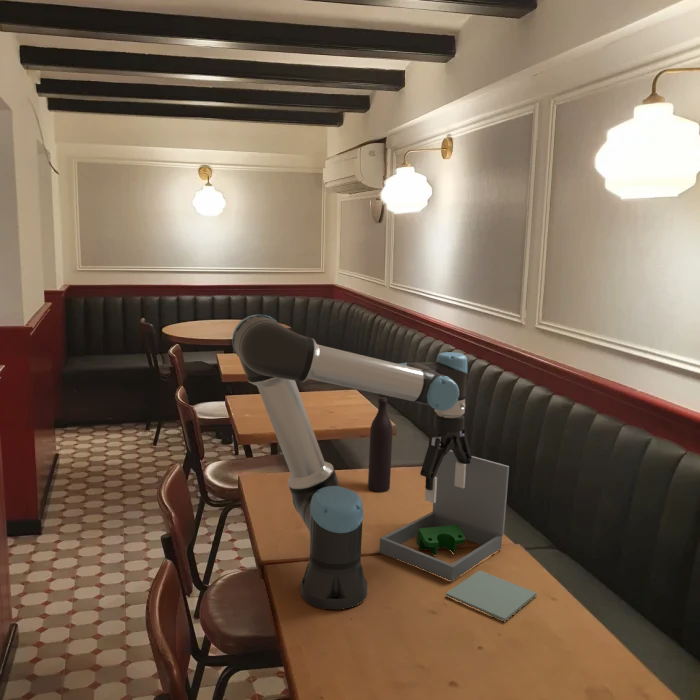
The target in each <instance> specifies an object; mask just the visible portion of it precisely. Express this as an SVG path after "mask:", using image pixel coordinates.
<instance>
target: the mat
mask: <svg viewBox="0 0 700 700" xmlns="http://www.w3.org/2000/svg"><path fill="white" fill-rule="evenodd" d="M446 595H447V596H449V597H451V598H454V599H456V600H458V601H461V602H462V603H465V604H467V605H469V606H471V607H474V608H476V609H479V610H480V611H483V612H485V613H487V614H489V615H491V616H493V617H496V618H498V619H500V620H503V621H506V620H507V619H509V618H510V617H511V616H512V615H513V614H515V613H516V612H517V611H518V610H520V609H521V608H522V607H523V606H524V605H526V604H527V603H528V602H529V601H530V600H531V599H533V598H534V597H535V596H536V597H537V592H536V591H533V590H530V589H528V588H527V587H523V586H520V585H518V584H516V583H513V582H510V581H507V580H506V579H503V578H501V577H498V576H496V575H492V574H490V573H487V572H485V571H483V570H477V571H476V572H475V573H473V574H472V575H470V576H469V577H468V578H466V579H464V580H463V581H462V582H460V583H458V584H457V585H455V586H454V587H453V588H451V589H449V590H448V591H447V592H445V596H446ZM536 597H535V598H536ZM535 598H534V599H535ZM534 599H533V600H534ZM529 603H530V602H529ZM529 603H528V604H529ZM528 604H527V605H528ZM527 605H526V606H527ZM523 608H524V607H523ZM523 608H522V609H523ZM522 609H521V610H522ZM521 610H520V611H521ZM517 613H518V612H517ZM517 613H516V614H517ZM516 614H515V615H516ZM511 618H512V617H511ZM511 618H510V619H511ZM510 619H509V620H510Z"/></svg>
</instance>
